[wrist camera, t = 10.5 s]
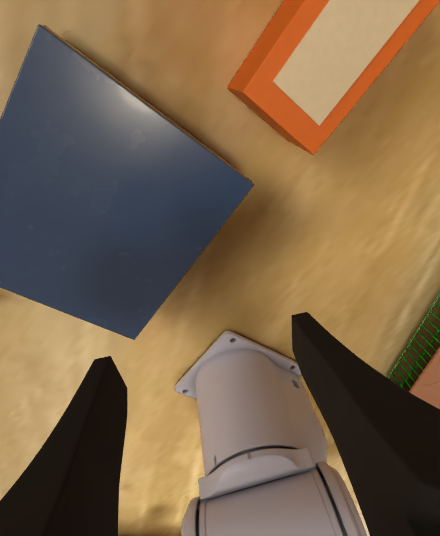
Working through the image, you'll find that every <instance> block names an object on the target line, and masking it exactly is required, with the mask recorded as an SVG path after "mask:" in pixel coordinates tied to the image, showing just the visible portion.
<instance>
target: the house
mask: <svg viewBox="0 0 440 536" xmlns="http://www.w3.org/2000/svg"><path fill="white" fill-rule="evenodd" d="M439 298H440V294H439V296H438V298H437V299H436V301H435V302H434V304H433V306H432V307H431V309H430V310H429V312H428V314H427V315H426V317H425V318H424V320H423V322H422V323H421V325H420V327H419V328H418V330H417V331H416V333H415V335H414V336H413V338H412V339H411V341H410V343H409V344H408V346H407V347H406V349H405V351H404V352H403V354H402V356H401V357H400V359H399V360H398V362H397V364H398V363H399V364H400V365H401V366H402V364H401V363H400V362H399V361H400V360H401V358H402V357H403V355H404V353H405V352H407V353H408V354H409V355H410V353H409V352H408V351H407V348H408V347H409V345H410V346H411V347H412V348H413V349H414V350H415V348H414V347H413V346H412V345H411V342H412V340H413V339H414V340H415V341H416V342H417V343H418V344H419V345H420V346H421V347H422V348H423V346H422V345H421V344H420V343H419V342H418V341H417V340H416V339H415V338H414V337H415V336H416V334H417V332H418V331H419V329H420V328H421V326H422V327H423V328H425V327H424V326H423V325H422V324H423V323H424V321H425V320H428V319H427V316H428V315H429V313H430V312H431V310H432V308H433V307H434V305H435V306H437V305H436V302H437V300H438V299H439ZM437 307H438V306H437ZM438 308H439V309H440V307H438ZM431 313H432V314H433V315H434V316H435V317H436V318H437V319H439V318H438V317H437V316H436V315H435V314H434V313H433V312H431ZM439 320H440V319H439ZM428 321H429V320H428ZM429 322H430V321H429ZM430 323H431V322H430ZM431 324H432V323H431ZM432 325H433V326H434V327H435V328H436V329H437V330H438V331H437V333H436V334H435V336H433V335H432V334H431V333H430V332H429V331H428V330H427V329H426V328H425V329H426V330H427V331H428V332H429V333H430V334H431V335H432V336H433V337H434V338H433V340H432V341H431V343H429V342H428V341H427V340H426V339H425V338H424V337H423V336H422V335H421V334H420V333H419V332H418V333H419V334H420V335H421V336H422V337H423V338H424V339H425V340H426V341H427V343H428V344H429V345H428V347H429V346H431V347H432V348H433V349H434V350H435V351H436V353H435V354H434V356H433V357H432V356H431V355H430V354H429V353H428V352H427V351H426V350H427V349H428V347H427V348H426V350H425V349H424V348H423V349H424V350H425V352H424V353H423V355H422V356H421V355H420V354H419V353H418V352H417V351H416V350H415V351H416V353H417V354H418V355H419V356H420V359H421V358H422V359H423V360H424V358H423V356H424V354H425V353H427V354H428V355H429V356H430V357H431V358H432V359H431V360H430V362H429V363H427V362H426V361H425V360H424V361H425V363H426V364H427V366H426V367H425V369H423V368H422V367H421V366H420V365H419V364H418V362H419V361H420V359H419V360H418V362H417V361H416V360H415V359H414V358H413V357H412V356H411V355H410V356H411V358H412V359H413V360H414V361H415V362H416V363H417V364H416V365H415V367H414V368H413V367H412V366H411V365H410V364H409V363H408V361H407V360H406V359H405V358H404V357H403V359H404V360H405V361H406V362H407V363H408V365H409V366H410V367H411V368H412V371H414V372H415V373H416V374H417V375H418V373H417V372H416V371H415V370H414V369H415V368H416V366H417V365H418V366H419V367H420V368H421V369H422V370H423V372H422V373H421V375H420V376H419V375H418V379H417V380H416V382H415V381H414V379H413V378H412V377H411V376H410V374H411V373H412V371H411V372H410V374H409V373H408V372H407V371H406V369H405V368H404V367H403V366H402V368H403V369H404V370H405V371H406V373H407V374H408V375H409V376H408V377H407V379H406V380H405V378H404V377H403V376H402V375H401V373H400V372H399V371H398V370H397V368H396V366H397V364H396V365H395V367H394V368H393V370H392V372H393V371H394V369H396V370H397V371H398V373H399V374H400V375H401V377H402V378H403V379H404V380H405V381H404V383H405V382H406V383H407V384H408V382H407V380H408V378H409V377H410V378H411V379H412V380H413V381H414V385H413V386H412V387H411V386H410V385H409V384H408V386H409V387H410V388H411V389H410V391H409V392H410V393H411V394H413V395H415V396H417V397H418V398H420V399H422V400H424V401H426V402H427V403H429V404H431V405H433V406H435V407H436V408H438V409H440V347H439V349H438V350H436V349H435V348H434V347H433V346H432V345H431V344H432V342H433V341H434V339H436V338H435V337H436V335H437V334H438V332H440V329H438V328H437V327H436V326H435V325H434V324H432ZM436 340H437V339H436ZM437 341H438V340H437ZM438 342H439V341H438ZM439 343H440V342H439ZM392 372H391V373H390V375H389V376H388V379H389V377H390V376H391V374H392V375H393V376H394V374H393V373H392ZM394 378H395V379H396V380H397V378H396V377H395V376H394ZM389 380H390V379H389ZM397 382H398V383H399V384H400V382H399V381H398V380H397ZM404 383H403V384H402V385H401V384H400V386H401V387H402V388H403V385H404ZM403 389H404V388H403Z"/></svg>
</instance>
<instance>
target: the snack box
mask: <svg viewBox="0 0 440 536" xmlns="http://www.w3.org/2000/svg"><path fill="white" fill-rule="evenodd" d="M439 1H440V0H284V1H283V3H282V4H281V6H280V7H279V9H278V11H277V12H276V14H275V15H274V17H273V18H272V20H271V21H270V23H269V24H268V26H267V27H266V29H265V30H264V32H263V34H262V35H261V37H260V38H259V40H258V41H257V43H256V44H255V46H254V47H253V49H252V50H251V52H250V53H249V55H248V56H247V58H246V60H245V61H244V63H243V64H242V66H241V67H240V69H239V70H238V72H237V73H236V75H235V76H234V78H233V79H232V81H231V83H230V84H229V86H228V89H229V90H230V91H231V92H232V93H234V94H235V95H236V96H237V97H238V98H239V99H240V100H242V101H243V102H244V103H245V104H246V105H247V106H248V107H250V108H251V109H252V110H253V111H254V112H255V113H256V114H258V115H259V116H260V117H261V118H262V119H263V120H264V121H266V122H267V123H268V124H269V125H270V126H271V127H272V128H274V129H275V130H276V131H277V132H278V133H279V134H280V135H282V136H283V137H284V138H285V139H286V140H288V141H289V142H291V143H293V144H295V145H296V146H298V147H300V148H302V149H303V150H305V151H307V152H309V153H310V154H312V155H314V154H315V153H316V152H317V150H318V149H319V148H320V147H321V145H322V144H323V143H324V142H325V141H326V139H327V138H328V137H329V136H330V134H331V133H332V132H333V131H334V130H335V128H336V127H337V126H338V125H339V123H340V122H341V121H342V120H343V119H344V117H345V116H346V115H347V114H348V112H349V111H350V110H351V109H352V108H353V106H354V105H355V104H356V103H357V101H358V100H359V99H360V98H361V97H362V95H363V94H364V93H365V92H366V90H367V89H368V88H369V87H370V86H371V84H372V83H373V82H374V81H375V80H376V78H377V77H378V76H379V75H380V73H381V72H382V71H383V70H384V69H385V67H386V66H387V65H388V64H389V62H390V61H391V60H392V59H393V58H394V56H395V55H396V54H397V53H398V51H399V50H400V49H401V48H402V47H403V45H404V44H405V43H406V42H407V40H408V39H409V38H410V37H411V36H412V34H413V33H414V32H415V31H416V29H417V28H418V27H419V26H420V25H421V23H422V22H423V21H424V20H425V18H426V17H427V16H428V15H429V14H430V12H431V11H432V10H433V9H434V7H435V6H436V5H437V4H438V3H439Z"/></svg>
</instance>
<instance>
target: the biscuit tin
mask: <svg viewBox="0 0 440 536" xmlns="http://www.w3.org/2000/svg"><path fill="white" fill-rule="evenodd" d="M253 186H254V184H253V183H252V181H251V180H250V179H249V178H248V177H246V176H245V175H244V174H242V173H241V172H240V171H238V170H237V169H236V168H235V167H234V166H232V165H231V164H230V163H228V162H227V161H226V160H224V159H223V158H222V157H220V156H219V155H218V154H216V153H215V152H214V151H212V150H211V149H210V148H208V147H207V146H206V145H204V144H203V143H202V142H200V141H199V140H198V139H196V138H195V137H194V136H192V135H191V134H190V133H188V132H187V131H186V130H184V129H183V128H182V127H180V126H179V125H178V124H176V123H175V122H174V121H172V120H171V119H170V118H168V117H167V116H166V115H164V114H163V113H162V112H160V111H159V110H158V109H156V108H155V107H154V106H153V105H151V104H150V103H149V102H147V101H146V100H145V99H143V98H142V97H141V96H139V95H138V94H137V93H135V92H134V91H133V90H131V89H130V88H129V87H127V86H126V85H125V84H123V83H122V82H121V81H119V80H118V79H117V78H115V77H114V76H113V75H111V74H110V73H109V72H107V71H106V70H105V69H103V68H102V67H101V66H99V65H98V64H97V63H95V62H94V61H93V60H91V59H90V58H89V57H87V56H86V55H85V54H83V53H82V52H81V51H79V50H78V49H77V48H75V47H74V46H73V45H71V44H70V43H69V42H67V41H66V40H64V39H62V38H61V37H60V36H58V35H57V34H56V33H54V32H53V31H52V30H50V29H49V28H48V27H46V26H45V25H43V26H42V25H38V27H37V29H36V32H35V34H34V37H33V39H32V42H31V44H30V47H29V49H28V52H27V54H26V57H25V59H24V62H23V64H22V66H21V69H20V71H19V74H18V76H17V79H16V81H15V84H14V86H13V89H12V91H11V94H10V96H9V99H8V101H7V104H6V106H5V109H4V111H3V114H2V116H1V119H0V288H3V289H6V290H8V291H11V292H13V293H16V294H18V295H21V296H23V297H26V298H28V299H31V300H34V301H36V302H39V303H41V304H44V305H46V306H49V307H51V308H54V309H57V310H59V311H62V312H64V313H67V314H69V315H72V316H74V317H77V318H80V319H82V320H85V321H87V322H90V323H92V324H95V325H97V326H100V327H102V328H105V329H108V330H110V331H113V332H115V333H118V334H120V335H123V336H125V337H128V338H131V339H133V340H135V338H136V337H137V336H138V335H139V333H140V332H141V331H142V329H143V328H144V327H145V326H146V324H147V323H148V322H149V320H150V319H151V318H152V316H153V315H154V314H155V313H156V311H157V310H158V309H159V307H160V306H161V305H162V304H163V302H164V301H165V300H166V298H167V297H168V296H169V294H170V293H171V292H172V291H173V289H174V288H175V287H176V285H177V284H178V283H179V282H180V280H181V279H182V278H183V276H184V275H185V274H186V272H187V271H188V270H189V269H190V267H191V266H192V265H193V263H194V262H195V261H196V260H197V258H198V257H199V256H200V254H201V253H202V252H203V250H204V249H205V248H206V247H207V245H208V244H209V243H210V241H211V240H212V239H213V238H214V236H215V235H216V234H217V232H218V231H219V230H220V228H221V227H222V226H223V225H224V223H225V222H226V221H227V219H228V218H229V217H230V216H231V214H232V213H233V212H234V210H235V209H236V208H237V206H238V205H239V204H240V203H241V201H242V200H243V199H244V197H245V196H246V195H247V194H248V192H249V191H250V190H251V188H252V187H253Z"/></svg>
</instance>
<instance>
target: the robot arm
mask: <svg viewBox="0 0 440 536" xmlns="http://www.w3.org/2000/svg"><path fill="white" fill-rule="evenodd" d="M232 338H234V339H232ZM292 349H293V353H294V356H295V358H296V361H297V362H295V361H293V360H291V359H289V358H287V357H285V356H283V355H281V354H278V353H276V352H274V351H272V350H270V349H268V348H266V347H264V346H261V345H259V344H257V343H255V342H253V341H251V340H249V339H247V338H244V337H242V336H240V335H238V334H236V333H234V332H232V331H225V332H224V333H222V335H221V336H220V337H219V338H218V339H217V340H216V341H215V342H214V343H213V344H212V346H211V347H210V348H209V349H208V350H207V351H206V352H205V353H204V354H203V355H202V357H201V358H200V359H199V360H198V361H197V362H196V363H195V364H194V365H193V366H192V368H191V369H190V370H189V371H188V372H187V373H186V374H185V375H184V376H183V377H182V379H181V380H180V381H179V382H178V383H177V384H176V385H175V391H176V392H178V393H180V394H183V395H186V396H189V397H192V398H195V399H197V405H198V414H199V424H200V433H201V443H202V453H203V462H204V472H205V477H202V478H199V480H198V482H199V494H200V497H196V498H193V499H192V500H191V501H190V503H189V505H188V509H187V511H186V513H185V515H184V517H183V521H182V529H181V536H367V534H366V531H365V529H364V526H363V523H362V521H361V518H360V516H359V513H358V511H357V509H356V506H355V504H354V502H353V500H352V497H351V495H350V493H349V491H348V489H347V487H346V485H345V483H344V481H343V479H342V477H341V476H340V474H339V473H338V471H337V470H336V469H334V468H333V467H331V466H329V465H328V464H327V463H326V458H327V445H326V438H325V434H324V432H323V429H322V427H321V425H320V422H319V420H318V418H317V416H316V413H315V411H314V409H313V407H312V404H311V402H310V400H309V398H308V395H307V393H306V391H305V389H304V386H303V384H302V382H301V380H300V377H299V376H300V375H301V374H302V376H303V378H304V380H305V382H306V384H307V386H308V388H309V390H310V392H311V394H312V396H313V398H314V400H315V402H316V404H317V406H318V408H319V410H320V412H321V414H322V416H323V418H324V420H325V421H326V423H327V425H328V428H329V430H330V432H331V434H332V436H333V439H334V441H335V444H336V446H337V449H338V451H339V454H340V456H341V459H342V461H343V464H344V466H345V469H346V471H347V474H348V477H349V479H350V482H351V484H352V487H353V490H354V492H355V495H356V498H357V500H358V503H359V506H360V509H361V511H362V514H363V517H364V519H365V522H366V525H367V528H368V531H369V534H370V536H440V409H438V408H436V407H435V406H433V405H431V404H429V403H427V402H426V401H424V400H422V399H420V398H418V397H417V396H415V395H413V394H411V393H410V392H408V391H407V390H405V389H403V388H402V387H400V386H399V385H397V384H395V383H394V382H392V381H391V380H389V379H388V378H386V377H385V376H383V375H382V374H380V373H379V372H378V371H376V370H375V369H373V368H372V367H371V366H369V365H368V364H367V363H365V362H364V361H363V360H361V359H360V358H359V357H357V356H356V355H355V354H354V353H352V352H351V351H350V350H349V349H348V348H346V347H345V346H344V345H343V344H342V343H340V342H339V341H338V340H337V339H336V338H335V337H333V336H332V335H331V334H330V333H329V332H328V331H327V330H326V329H325V328H323V327H322V326H321V325H320V324H319V323H318V322H317V321H316V320H315V319H314V318H313V317H312V316H311V315H310V314H309V313H307V312H305V313H300V314H296V315H292ZM126 421H127V387H126V385H125V383H124V381H123V379H122V377H121V375H120V373H119V371H118V369H117V367H116V365H115V364H114V362H113V360H112V358H111V356H108V357H104V358H99V359H95V360H94V361H93V363H92V365H91V367H90V368H89V370H88V372H87V374H86V376H85V378H84V379H83V381H82V383H81V385H80V387H79V388H78V390H77V392H76V394H75V395H74V397H73V399H72V400H71V402H70V404H69V406H68V407H67V409H66V411H65V412H64V414H63V416H62V417H61V419H60V420H59V422H58V423H57V425H56V427H55V428H54V430H53V431H52V433H51V434H50V436H49V437H48V439H47V440H46V442H45V443H44V445H43V446H42V448H41V449H40V451H39V452H38V453H37V455H36V456H35V457H34V459H33V460H32V462H31V463H30V464H29V466H28V467H27V468H26V470H25V471H24V472H23V474H22V475H21V476H20V477H19V479H18V480H17V481H16V482H15V484H14V485H13V486H12V487H11V488H10V490H9V491H8V492H7V493H6V495H5V496H4V497H3V498H2V499H1V501H0V536H118V503H119V482H120V472H121V463H122V455H123V447H124V439H125V430H126Z"/></svg>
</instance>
